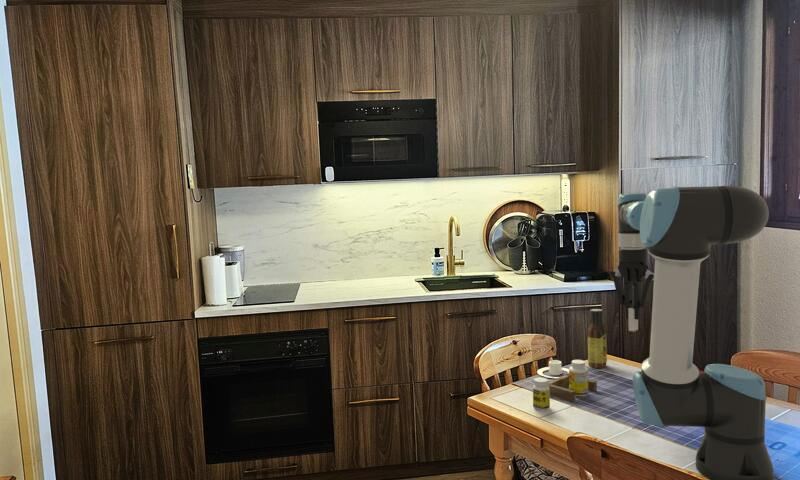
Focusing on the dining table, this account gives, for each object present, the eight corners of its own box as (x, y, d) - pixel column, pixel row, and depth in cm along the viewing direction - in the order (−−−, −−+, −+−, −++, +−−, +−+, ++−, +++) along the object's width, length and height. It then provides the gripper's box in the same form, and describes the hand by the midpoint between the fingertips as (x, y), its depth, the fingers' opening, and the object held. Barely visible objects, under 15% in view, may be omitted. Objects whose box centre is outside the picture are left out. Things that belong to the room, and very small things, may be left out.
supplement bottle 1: (531, 409, 176) (530, 381, 175) (535, 403, 180) (534, 376, 179) (547, 411, 174) (547, 383, 173) (551, 405, 178) (551, 378, 177)
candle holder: (573, 381, 199) (573, 368, 198) (536, 379, 202) (535, 366, 202) (574, 369, 210) (573, 357, 210) (538, 368, 214) (538, 356, 213)
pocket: (572, 402, 180) (572, 392, 180) (543, 393, 188) (542, 384, 188) (596, 390, 188) (596, 381, 188) (567, 383, 196) (567, 374, 196)
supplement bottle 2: (569, 390, 190) (568, 358, 189) (588, 391, 188) (587, 359, 187) (569, 396, 184) (568, 363, 183) (588, 397, 183) (588, 364, 182)
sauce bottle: (608, 369, 208) (607, 312, 206) (589, 368, 209) (588, 312, 207) (605, 363, 215) (604, 307, 213) (586, 363, 216) (586, 308, 214)
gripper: (661, 247, 170) (661, 331, 172) (617, 245, 179) (618, 324, 181) (649, 250, 165) (649, 336, 167) (604, 248, 174) (605, 329, 176)
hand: (633, 330), depth 174 cm, fingers closed
